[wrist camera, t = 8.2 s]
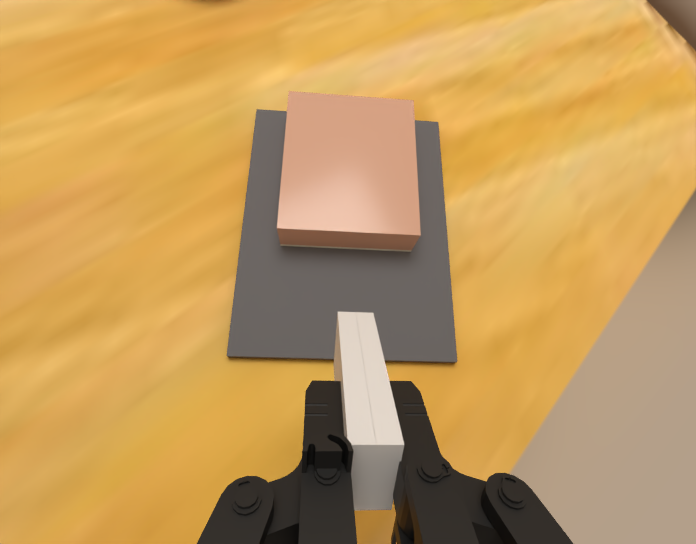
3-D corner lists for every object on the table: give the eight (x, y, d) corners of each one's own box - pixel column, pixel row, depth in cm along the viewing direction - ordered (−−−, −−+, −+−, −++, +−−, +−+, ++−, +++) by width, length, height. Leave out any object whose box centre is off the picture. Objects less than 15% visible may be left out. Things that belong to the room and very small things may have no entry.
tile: (276, 228, 26) (288, 91, 30) (280, 245, 29) (291, 118, 33) (420, 235, 27) (413, 100, 31) (410, 251, 30) (405, 126, 34)
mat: (228, 356, 26) (226, 355, 26) (257, 114, 33) (256, 109, 33) (454, 363, 27) (457, 361, 27) (436, 126, 35) (438, 122, 34)
